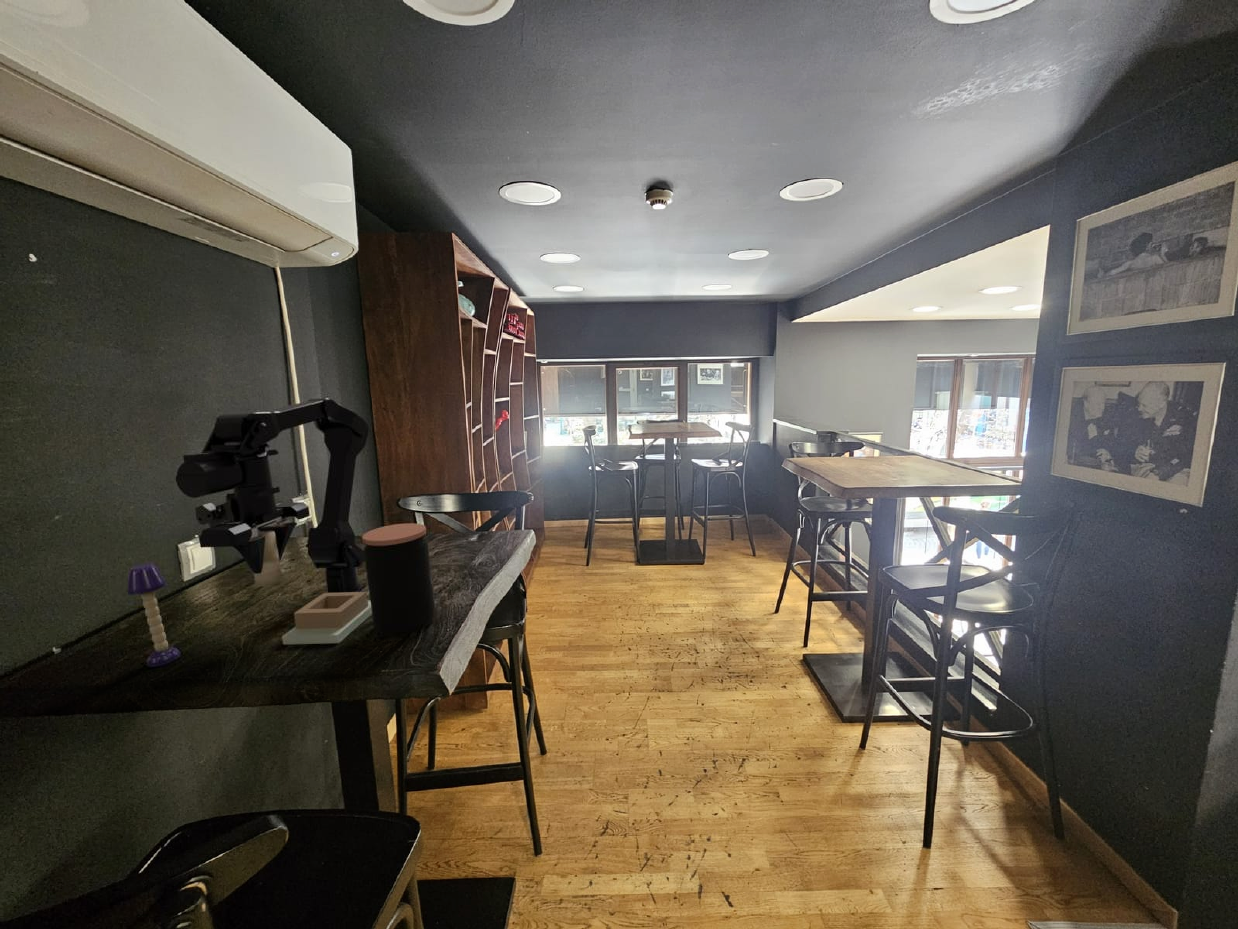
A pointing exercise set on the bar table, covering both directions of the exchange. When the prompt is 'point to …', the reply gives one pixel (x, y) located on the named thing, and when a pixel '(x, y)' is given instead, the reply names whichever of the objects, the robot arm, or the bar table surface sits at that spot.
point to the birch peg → (269, 562)
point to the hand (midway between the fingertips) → (267, 568)
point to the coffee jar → (399, 578)
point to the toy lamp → (152, 610)
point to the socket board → (329, 618)
